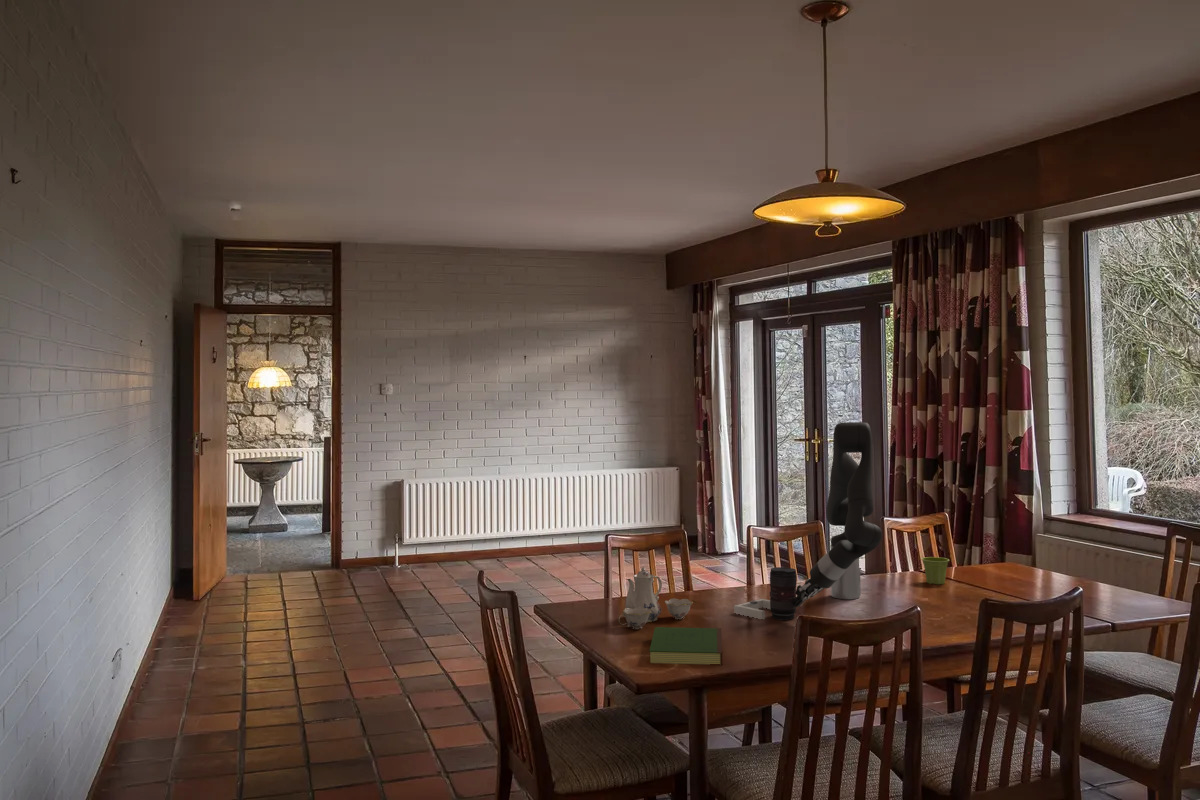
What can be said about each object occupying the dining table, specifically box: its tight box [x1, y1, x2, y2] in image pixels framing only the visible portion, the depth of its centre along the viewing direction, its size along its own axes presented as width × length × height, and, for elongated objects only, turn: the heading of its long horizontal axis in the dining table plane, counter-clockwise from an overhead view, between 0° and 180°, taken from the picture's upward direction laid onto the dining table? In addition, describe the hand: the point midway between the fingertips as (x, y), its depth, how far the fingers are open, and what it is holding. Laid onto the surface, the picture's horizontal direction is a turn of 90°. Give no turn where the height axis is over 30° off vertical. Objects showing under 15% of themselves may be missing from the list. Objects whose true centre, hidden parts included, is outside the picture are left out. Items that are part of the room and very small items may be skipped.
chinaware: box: [618, 566, 694, 630], centre depth 285 cm, size 28×17×17 cm, turn 135°
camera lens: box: [769, 566, 798, 621], centre depth 287 cm, size 8×8×15 cm
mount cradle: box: [733, 598, 771, 620], centre depth 293 cm, size 14×11×3 cm
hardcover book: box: [648, 626, 723, 666], centre depth 252 cm, size 25×19×4 cm
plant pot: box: [921, 556, 950, 585], centre depth 335 cm, size 9×9×9 cm
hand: (795, 604), depth 283 cm, fingers closed
